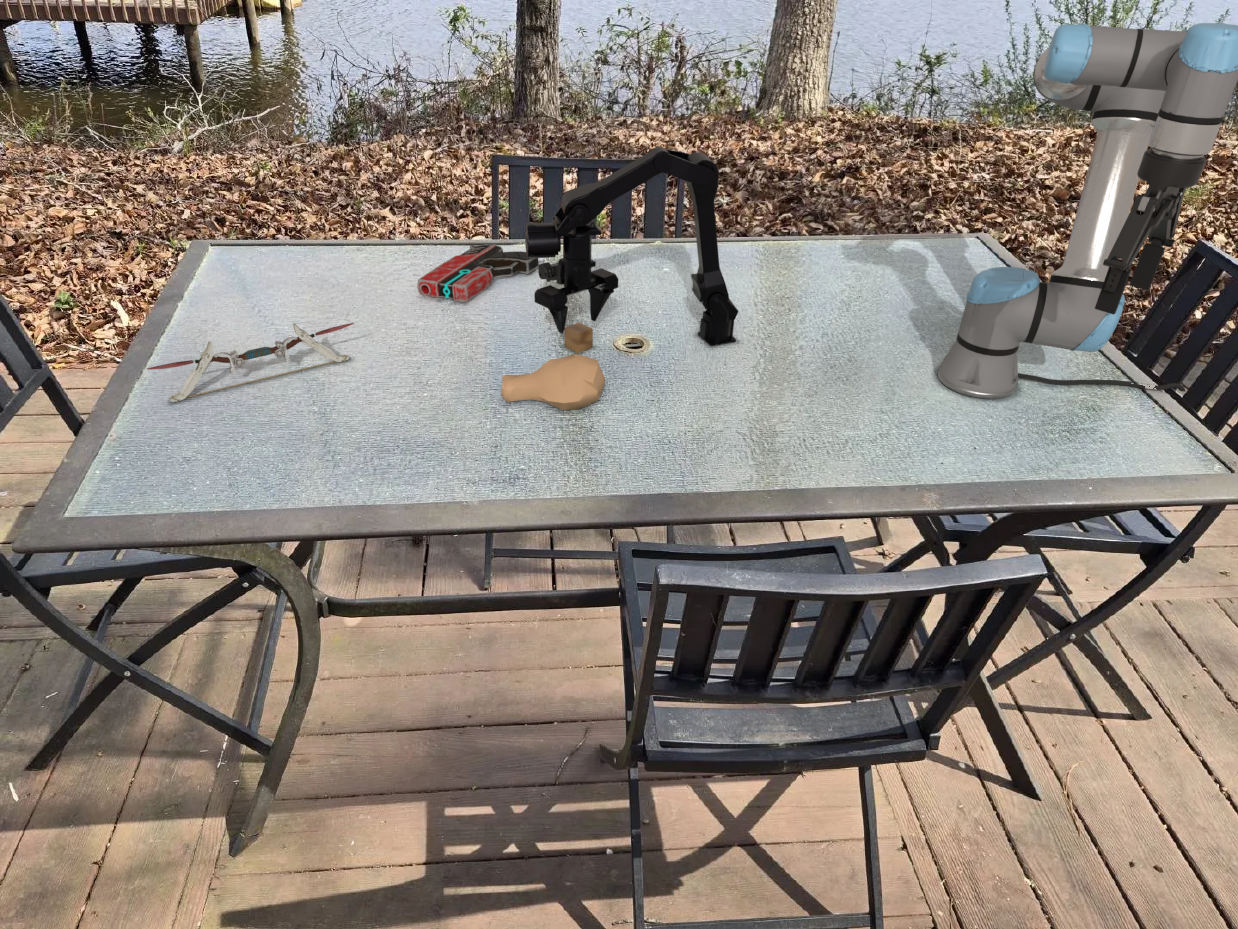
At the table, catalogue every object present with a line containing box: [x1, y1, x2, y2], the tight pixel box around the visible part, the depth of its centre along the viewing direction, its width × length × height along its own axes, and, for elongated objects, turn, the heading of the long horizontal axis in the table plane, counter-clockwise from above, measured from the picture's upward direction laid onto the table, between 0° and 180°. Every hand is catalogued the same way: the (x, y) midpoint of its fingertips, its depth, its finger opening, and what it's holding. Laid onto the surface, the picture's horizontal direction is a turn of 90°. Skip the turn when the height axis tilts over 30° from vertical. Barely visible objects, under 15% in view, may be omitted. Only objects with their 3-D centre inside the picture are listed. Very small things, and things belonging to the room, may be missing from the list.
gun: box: [416, 243, 540, 303], centre depth 216 cm, size 4×31×19 cm
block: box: [564, 321, 594, 354], centre depth 187 cm, size 4×4×4 cm
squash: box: [500, 353, 606, 411], centre depth 166 cm, size 11×20×9 cm, turn 90°
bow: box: [146, 322, 355, 403], centre depth 169 cm, size 39×2×10 cm, turn 124°
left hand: (577, 326), depth 185 cm, fingers open, 9 cm apart
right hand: (1122, 298), depth 130 cm, fingers open, 13 cm apart
